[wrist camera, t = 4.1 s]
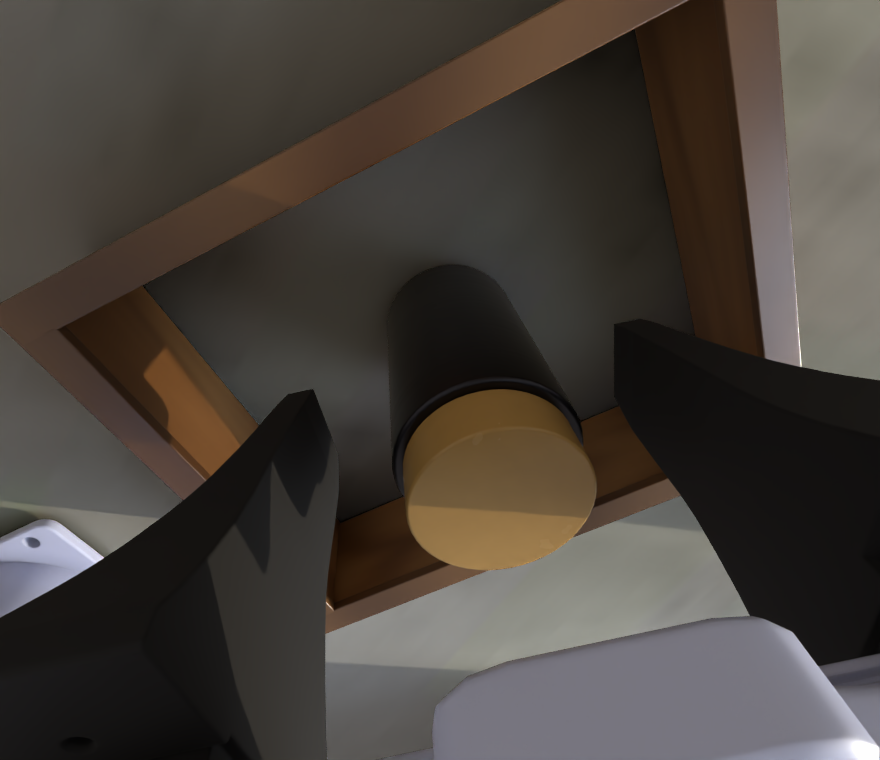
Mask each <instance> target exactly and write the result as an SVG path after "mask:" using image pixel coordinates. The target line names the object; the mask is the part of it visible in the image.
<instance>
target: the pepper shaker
mask: <svg viewBox="0 0 880 760" xmlns="http://www.w3.org/2000/svg"><path fill="white" fill-rule="evenodd" d="M387 339H388V366H389V392H390V419H391V446H392V469H393V474H394V479H395V481H396V484H397V486H398V488H399V490H400V492H401V493H402V495H403V496H404V498H405V512H406V519H407V524H408V526H409V529H410V531H411V533H412V535H413V536H414V538H415V540H416V541H417V542H418V543H419V544H420V546H421V547H422V548H423V549H424V550H426V551H427V552H428V553H429V554H431V555H432V556H434V557H435V558H437V559H439V560H441V561H443V562H445V563H448V564H451V565H454V566H457V567H461V568H466V569H474V570H499V569H506V568H512V567H516V566H520V565H524V564H527V563H530V562H533V561H535V560H537V559H540V558H542V557H544V556H546V555H548V554H550V553H552V552H553V551H555V550H556V549H558V548H559V547H561V546H562V545H564V544H565V543H566V542H567V541H568V540H570V539H571V538H572V537H573V536H574V535H575V534H576V533H577V532H578V531H579V530H580V528H581V527H582V526H583V524H584V523H585V522H586V520H587V518H588V517H589V515H590V513H591V510H592V508H593V506H594V502H595V498H596V490H597V481H596V474H595V471H594V467H593V465H592V463H591V461H590V459H589V457H588V455H587V454H586V452H585V450H584V448H583V431H582V427H581V423H580V420H579V418H578V416H577V414H576V412H575V410H574V408H573V407H572V405H571V403H570V402H569V400H568V398H567V397H566V395H565V393H564V392H563V390H562V388H561V387H560V385H559V383H558V382H557V380H556V378H555V376H554V375H553V373H552V371H551V370H550V368H549V366H548V365H547V363H546V361H545V360H544V358H543V356H542V355H541V353H540V351H539V350H538V348H537V346H536V344H535V343H534V341H533V339H532V338H531V336H530V334H529V333H528V331H527V329H526V328H525V326H524V324H523V323H522V321H521V319H520V318H519V316H518V314H517V313H516V311H515V309H514V307H513V306H512V304H511V302H510V301H509V299H508V297H507V296H506V294H505V292H504V291H503V290H502V288H501V287H500V286H499V285H498V283H497V282H496V281H495V280H493V279H492V278H491V277H490V276H488V275H487V274H485V273H483V272H481V271H479V270H476V269H474V268H470V267H466V266H459V265H447V266H440V267H436V268H432V269H429V270H427V271H424V272H422V273H421V274H419V275H417V276H415V277H414V278H413V279H411V280H410V281H409V282H408V283H406V284H405V285H404V286H403V287H402V289H401V290H400V291H399V292H398V294H397V295H396V297H395V299H394V300H393V302H392V305H391V307H390V310H389V314H388V320H387Z"/></svg>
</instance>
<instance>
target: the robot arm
mask: <svg viewBox="0 0 880 760" xmlns="http://www.w3.org/2000/svg"><path fill="white" fill-rule="evenodd" d="M614 397H615V399H616V401H617V402H618V404H619V406H620V408H621V410H622V412H623V414H624V416H625V418H626V420H627V422H628V423H629V425H630V427H631V429H632V430H633V432H634V433H635V434H636V436H637V437H638V439H639V440H640V441H641V443H642V444H643V445H644V447H645V448H646V450H647V451H648V452H649V454H650V455H651V456H652V458H653V459H654V460H655V462H656V463H657V464H658V466H659V467H660V468H661V470H662V471H663V472H664V474H665V475H666V476H667V478H668V479H669V480H670V482H671V483H672V484H673V486H674V487H675V488H676V490H677V491H678V492H679V494H680V495H681V496H682V498H683V499H684V501H685V502H686V504H687V505H688V507H689V508H690V510H691V511H692V512H693V514H694V516H695V517H696V519H697V521H698V522H699V524H700V526H701V527H702V529H703V531H704V533H705V534H706V536H707V538H708V539H709V541H710V543H711V545H712V546H713V548H714V550H715V551H716V553H717V555H718V557H719V559H720V560H721V562H722V564H723V566H724V568H725V570H726V571H727V573H728V575H729V577H730V579H731V580H732V582H733V584H734V586H735V588H736V590H737V591H738V593H739V595H740V597H741V599H742V601H743V603H744V605H745V607H746V609H747V611H748V613H749V615H750V616H744V617H725V618H710V619H706V620H701V621H696V622H691V623H687V624H682V625H677V626H672V627H668V628H663V629H658V630H654V631H649V632H644V633H639V634H635V635H630V636H625V637H620V638H616V639H611V640H606V641H602V642H597V643H592V644H587V645H583V646H578V647H573V648H568V649H564V650H559V651H554V652H549V653H545V654H540V655H535V656H531V657H526V658H521V659H516V660H512V661H507V662H505V663H502V664H499V665H496V666H494V667H491V668H488V669H486V670H483V671H480V672H478V673H475V674H472V675H470V676H467V677H466V678H465V679H464V680H463V681H462V682H461V683H459V684H458V685H457V686H456V687H455V688H454V689H453V690H452V691H450V692H449V693H448V694H447V695H446V696H445V697H444V698H443V699H442V700H441V701H440V702H439V703H438V705H437V706H436V707H435V713H434V720H433V728H432V738H433V748H428V749H423V750H419V751H414V752H409V753H404V754H400V755H395V756H390V757H385V758H381V759H376V760H880V381H879V380H872V379H866V378H859V377H852V376H845V375H839V374H834V373H828V372H823V371H818V370H813V369H808V368H804V367H799V366H794V365H790V364H785V363H781V362H777V361H773V360H769V359H766V358H762V357H759V356H755V355H752V354H748V353H745V352H741V351H738V350H735V349H731V348H728V347H725V346H722V345H719V344H716V343H713V342H710V341H707V340H704V339H701V338H698V337H695V336H693V335H690V334H687V333H684V332H681V331H678V330H675V329H673V328H670V327H667V326H664V325H661V324H658V323H654V322H651V321H647V320H643V319H637V320H632V321H627V322H623V323H618V324H614ZM338 495H339V458H338V453H337V450H336V448H335V445H334V442H333V440H332V437H331V434H330V432H329V429H328V427H327V424H326V421H325V419H324V416H323V413H322V411H321V408H320V405H319V403H318V400H317V398H316V395H315V392H314V390H313V389H311V390H306V391H302V392H297V393H292V394H288V395H287V396H286V397H285V398H284V399H283V400H282V401H281V402H280V403H279V404H278V405H277V406H276V407H275V408H274V409H273V411H272V412H271V413H270V414H269V415H268V416H267V417H266V418H265V420H264V421H263V422H262V423H261V424H260V425H259V426H258V427H257V429H256V430H255V431H254V432H253V433H252V434H251V435H250V436H249V437H248V439H247V440H246V441H245V442H244V443H243V444H242V445H241V446H240V447H239V448H238V449H237V450H236V451H235V452H234V453H233V454H232V455H231V456H230V457H229V458H228V459H227V460H226V461H225V462H224V463H223V464H222V465H221V467H220V468H219V469H218V470H217V471H216V472H215V473H214V474H213V475H212V476H210V477H209V478H208V479H207V480H206V481H205V482H204V483H203V484H202V485H201V486H200V487H198V488H197V489H196V490H195V491H194V492H193V493H191V494H190V495H189V496H188V497H187V498H186V499H184V500H183V501H182V502H181V503H180V504H178V505H177V506H176V507H175V508H174V509H172V510H171V511H170V512H169V513H167V514H166V515H164V516H163V517H162V518H160V519H159V520H158V521H156V522H155V523H154V524H152V525H151V526H149V527H148V528H147V529H145V530H144V531H143V532H141V533H140V534H139V535H137V536H136V537H135V538H133V539H132V540H130V541H129V542H128V543H126V544H125V545H123V546H122V547H120V548H119V549H117V550H116V551H114V552H112V553H111V554H109V555H108V556H106V557H105V558H104V557H103V556H102V555H100V554H99V553H98V552H96V551H95V550H94V549H93V548H91V547H90V546H89V545H87V544H86V543H85V542H83V541H82V540H81V539H80V538H78V537H77V536H76V535H74V534H73V533H72V532H71V531H69V530H68V529H67V528H65V527H64V526H63V525H62V524H60V523H58V522H57V521H55V520H51V519H40V520H37V521H34V522H32V523H30V524H28V525H26V526H24V527H22V528H19V529H17V530H15V531H13V532H11V533H9V534H6V535H4V536H2V537H0V760H327V747H326V705H325V624H326V591H327V579H328V570H329V563H330V555H331V548H332V541H333V533H334V526H335V519H336V511H337V503H338Z"/></svg>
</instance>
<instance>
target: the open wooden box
mask: <svg viewBox="0 0 880 760" xmlns="http://www.w3.org/2000/svg"><path fill="white" fill-rule="evenodd" d="M633 29H635V32H636V37H637V42H638V47H639V52H640V57H641V62H642V67H643V72H644V78H645V83H646V88H647V93H648V98H649V103H650V108H651V113H652V118H653V123H654V128H655V133H656V138H657V143H658V148H659V153H660V159H661V164H662V169H663V174H664V179H665V184H666V189H667V194H668V199H669V204H670V209H671V214H672V219H673V224H674V229H675V234H676V240H677V245H678V250H679V255H680V260H681V265H682V270H683V275H684V280H685V285H686V290H687V295H688V300H689V305H690V310H691V315H692V321H693V326H694V331H695V336H696V337H698V338H701V339H704V340H707V341H710V342H713V343H716V344H719V345H722V346H725V347H728V348H731V349H735V350H738V351H741V352H745V353H748V354H752V355H755V356H759V357H762V358H766V359H769V360H773V361H777V362H781V363H785V364H790V365H794V366H799V367H801V354H800V339H799V325H798V310H797V295H796V281H795V266H794V251H793V237H792V222H791V207H790V193H789V178H788V163H787V149H786V134H785V119H784V105H783V90H782V75H781V61H780V46H779V31H778V17H777V2H776V0H560V1H559V2H557V3H555V4H553V5H551V6H549V7H548V8H546V9H544V10H542V11H540V12H538V13H536V14H535V15H533V16H531V17H529V18H527V19H525V20H523V21H522V22H520V23H518V24H516V25H514V26H512V27H510V28H509V29H507V30H505V31H503V32H501V33H499V34H498V35H496V36H494V37H492V38H490V39H488V40H486V41H485V42H483V43H481V44H479V45H477V46H475V47H473V48H472V49H470V50H468V51H466V52H464V53H462V54H461V55H459V56H457V57H455V58H453V59H451V60H449V61H448V62H446V63H444V64H442V65H440V66H438V67H436V68H435V69H433V70H431V71H429V72H427V73H425V74H423V75H422V76H420V77H418V78H416V79H414V80H412V81H411V82H409V83H407V84H405V85H403V86H401V87H399V88H398V89H396V90H394V91H392V92H390V93H388V94H386V95H385V96H383V97H381V98H379V99H377V100H375V101H373V102H372V103H370V104H368V105H366V106H364V107H362V108H361V109H359V110H357V111H355V112H353V113H351V114H349V115H348V116H346V117H344V118H342V119H340V120H338V121H336V122H335V123H333V124H331V125H329V126H327V127H325V128H324V129H322V130H320V131H318V132H316V133H314V134H312V135H311V136H309V137H307V138H305V139H303V140H301V141H299V142H298V143H296V144H294V145H292V146H290V147H288V148H286V149H285V150H283V151H281V152H279V153H277V154H275V155H274V156H272V157H270V158H268V159H266V160H264V161H262V162H261V163H259V164H257V165H255V166H253V167H251V168H249V169H248V170H246V171H244V172H242V173H240V174H238V175H236V176H235V177H233V178H231V179H229V180H227V181H225V182H224V183H222V184H220V185H218V186H216V187H214V188H212V189H211V190H209V191H207V192H205V193H203V194H201V195H199V196H198V197H196V198H194V199H192V200H190V201H188V202H187V203H185V204H183V205H181V206H179V207H177V208H175V209H174V210H172V211H170V212H168V213H166V214H164V215H162V216H161V217H159V218H157V219H155V220H153V221H151V222H149V223H148V224H146V225H144V226H142V227H140V228H138V229H137V230H135V231H133V232H131V233H129V234H127V235H125V236H124V237H122V238H120V239H118V240H116V241H114V242H112V243H111V244H109V245H107V246H105V247H103V248H101V249H99V250H98V251H96V252H94V253H92V254H90V255H88V256H87V257H85V258H83V259H81V260H79V261H77V262H75V263H74V264H72V265H70V266H68V267H66V268H64V269H62V270H61V271H59V272H57V273H55V274H53V275H51V276H50V277H48V278H46V279H44V280H42V281H40V282H38V283H37V284H35V285H33V286H31V287H29V288H27V289H25V290H24V291H22V292H20V293H18V294H16V295H14V296H12V297H11V298H9V299H7V300H5V301H3V302H1V303H0V327H1V328H2V329H3V330H4V331H5V332H6V333H7V334H9V335H10V336H11V337H12V338H13V339H14V340H15V341H16V342H17V343H18V344H19V345H20V346H21V347H22V348H23V349H24V350H25V351H26V352H27V353H29V354H30V355H31V356H32V357H33V358H34V359H35V360H36V361H37V362H38V363H39V364H40V365H41V366H42V367H43V368H44V369H45V370H46V371H47V372H49V373H50V374H51V375H52V376H53V377H54V378H55V379H56V380H57V381H58V382H59V383H60V384H61V385H62V386H63V387H64V388H65V389H66V390H67V391H68V392H70V393H71V394H72V395H73V396H74V397H75V398H76V399H77V400H78V401H79V402H80V403H81V404H82V405H83V406H84V407H85V408H86V409H87V410H88V411H90V412H91V413H92V414H93V415H94V416H95V417H96V418H97V419H98V420H99V421H100V422H101V423H102V424H103V425H104V426H105V427H106V428H107V429H108V430H110V431H111V432H112V433H113V434H114V435H115V436H116V437H117V438H118V439H119V440H120V441H121V442H122V443H123V444H124V445H125V446H126V447H127V448H128V449H130V450H131V451H132V452H133V453H134V454H135V455H136V456H137V457H138V458H139V459H140V460H141V461H142V462H143V463H144V464H145V465H146V466H147V467H148V468H150V469H151V470H152V471H153V472H154V473H155V474H156V475H157V476H158V477H159V478H160V479H161V480H162V481H163V482H164V483H165V484H166V485H167V486H168V487H169V488H171V489H172V490H173V491H174V492H175V493H176V494H177V495H178V496H179V497H180V498H181V499H182V500H184V499H186V498H187V497H188V496H189V495H190V494H191V493H193V492H194V491H195V490H196V489H197V488H198V487H200V486H201V485H202V484H203V483H204V482H205V481H206V480H207V479H208V478H209V477H210V476H212V475H213V474H214V473H215V472H216V471H217V470H218V469H219V468H220V467H221V465H222V464H223V463H224V462H225V461H226V460H227V459H228V458H229V457H230V456H231V455H232V454H233V453H234V452H235V451H236V450H237V449H238V448H239V447H240V446H241V445H242V444H243V443H244V442H245V441H246V440H247V439H248V437H249V436H250V435H251V434H252V433H253V432H254V431H255V430H256V429H257V427H258V426H259V425H258V424H257V423H256V421H255V420H254V419H253V418H252V417H251V415H250V414H249V413H248V412H247V411H246V409H245V408H244V407H243V406H242V405H241V403H240V402H239V401H238V400H237V399H236V397H235V396H234V395H233V394H232V393H231V391H230V390H229V389H228V388H227V387H226V385H225V384H224V383H223V382H222V381H221V379H220V378H219V377H218V376H217V375H216V373H215V372H214V371H213V370H212V369H211V367H210V366H209V365H208V364H207V363H206V362H205V360H204V359H203V358H202V357H201V356H200V354H199V353H198V352H197V351H196V350H195V348H194V347H193V346H192V345H191V344H190V342H189V341H188V340H187V339H186V338H185V336H184V335H183V334H182V333H181V332H180V330H179V329H178V328H177V327H176V326H175V324H174V323H173V322H172V321H171V320H170V318H169V317H168V316H167V315H166V314H165V312H164V311H163V310H162V309H161V308H160V306H159V305H158V304H157V303H156V302H155V300H154V299H153V298H152V297H151V296H150V294H149V293H148V292H147V291H146V290H145V288H144V287H143V286H142V285H144V284H146V283H148V282H150V281H152V280H154V279H156V278H158V277H160V276H162V275H164V274H165V273H167V272H169V271H171V270H173V269H175V268H177V267H179V266H181V265H183V264H185V263H187V262H188V261H190V260H192V259H194V258H196V257H198V256H200V255H202V254H204V253H206V252H208V251H210V250H211V249H213V248H215V247H217V246H219V245H221V244H223V243H225V242H227V241H229V240H231V239H233V238H234V237H236V236H238V235H240V234H242V233H244V232H246V231H248V230H250V229H252V228H254V227H256V226H257V225H259V224H261V223H263V222H265V221H267V220H269V219H271V218H273V217H275V216H277V215H279V214H280V213H282V212H284V211H286V210H288V209H290V208H292V207H294V206H296V205H298V204H300V203H302V202H303V201H305V200H307V199H309V198H311V197H313V196H315V195H317V194H319V193H321V192H323V191H325V190H326V189H328V188H330V187H332V186H334V185H336V184H338V183H340V182H342V181H344V180H346V179H348V178H350V177H351V176H353V175H355V174H357V173H359V172H361V171H363V170H365V169H367V168H369V167H371V166H373V165H374V164H376V163H378V162H380V161H382V160H384V159H386V158H388V157H390V156H392V155H394V154H396V153H397V152H399V151H401V150H403V149H405V148H407V147H409V146H411V145H413V144H415V143H417V142H419V141H420V140H422V139H424V138H426V137H428V136H430V135H432V134H434V133H436V132H438V131H440V130H442V129H443V128H445V127H447V126H449V125H451V124H453V123H455V122H457V121H459V120H461V119H463V118H465V117H466V116H468V115H470V114H472V113H474V112H476V111H478V110H480V109H482V108H484V107H486V106H488V105H489V104H491V103H493V102H495V101H497V100H499V99H501V98H503V97H505V96H507V95H509V94H511V93H512V92H514V91H516V90H518V89H520V88H522V87H524V86H526V85H528V84H530V83H532V82H534V81H536V80H537V79H539V78H541V77H543V76H545V75H547V74H549V73H551V72H553V71H555V70H557V69H559V68H560V67H562V66H564V65H566V64H568V63H570V62H572V61H574V60H576V59H578V58H580V57H582V56H583V55H585V54H587V53H589V52H591V51H593V50H595V49H597V48H599V47H601V46H603V45H605V44H606V43H608V42H610V41H612V40H614V39H616V38H618V37H620V36H622V35H624V34H626V33H628V32H629V31H631V30H633ZM580 423H581V427H582V431H583V448H584V450H585V452H586V454H587V455H588V457H589V459H590V461H591V463H592V465H593V467H594V471H595V474H596V481H597V490H596V498H595V502H594V506H593V508H592V510H591V513H590V515H589V517H588V518H587V520H586V522H585V523H584V524H583V526H582V527H581V528H580V530H579V531H578V532H577V533H576V534H575V535H574V536H573V537H575V536H578V535H580V534H583V533H586V532H588V531H591V530H593V529H596V528H598V527H601V526H604V525H606V524H609V523H611V522H614V521H616V520H619V519H621V518H624V517H627V516H629V515H632V514H634V513H637V512H639V511H642V510H645V509H647V508H650V507H652V506H655V505H657V504H660V503H663V502H665V501H668V500H670V499H673V498H675V497H678V496H681V495H680V494H679V492H678V491H677V490H676V488H675V487H674V486H673V484H672V483H671V482H670V480H669V479H668V478H667V476H666V475H665V474H664V472H663V471H662V470H661V468H660V467H659V466H658V464H657V463H656V462H655V460H654V459H653V458H652V456H651V455H650V454H649V452H648V451H647V450H646V448H645V447H644V445H643V444H642V443H641V441H640V440H639V439H638V437H637V436H636V434H635V433H634V432H633V430H632V429H631V427H630V425H629V423H628V422H627V420H626V418H625V416H624V414H623V412H622V410H621V408H620V406H618V407H615V408H613V409H611V410H608V411H606V412H603V413H601V414H599V415H596V416H594V417H592V418H589V419H587V420H584V421H582V422H580ZM573 537H572V538H573ZM485 571H488V570H474V569H466V568H461V567H457V566H454V565H451V564H448V563H445V562H443V561H441V560H439V559H437V558H435V557H434V556H432V555H431V554H429V553H428V552H427V551H426V550H424V549H423V548H422V547H421V546H420V544H419V543H418V542H417V541H416V540H415V538H414V536H413V535H412V533H411V531H410V529H409V526H408V524H407V519H406V512H405V498H404V497H401V498H399V499H397V500H394V501H392V502H389V503H387V504H385V505H382V506H380V507H378V508H375V509H373V510H370V511H368V512H366V513H363V514H361V515H359V516H356V517H354V518H351V519H349V520H347V521H344V522H342V523H340V522H339V521H338V520H337V518H336V519H335V526H334V533H333V541H332V548H331V555H330V563H329V570H328V579H327V591H326V624H325V634H326V633H329V632H331V631H334V630H337V629H339V628H342V627H344V626H347V625H349V624H352V623H354V622H357V621H360V620H362V619H365V618H367V617H370V616H372V615H375V614H378V613H380V612H383V611H385V610H388V609H390V608H393V607H396V606H398V605H401V604H403V603H406V602H408V601H411V600H414V599H416V598H419V597H421V596H424V595H426V594H429V593H431V592H434V591H437V590H439V589H442V588H444V587H447V586H449V585H452V584H455V583H457V582H460V581H462V580H465V579H467V578H470V577H473V576H475V575H478V574H480V573H483V572H485Z"/></svg>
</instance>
